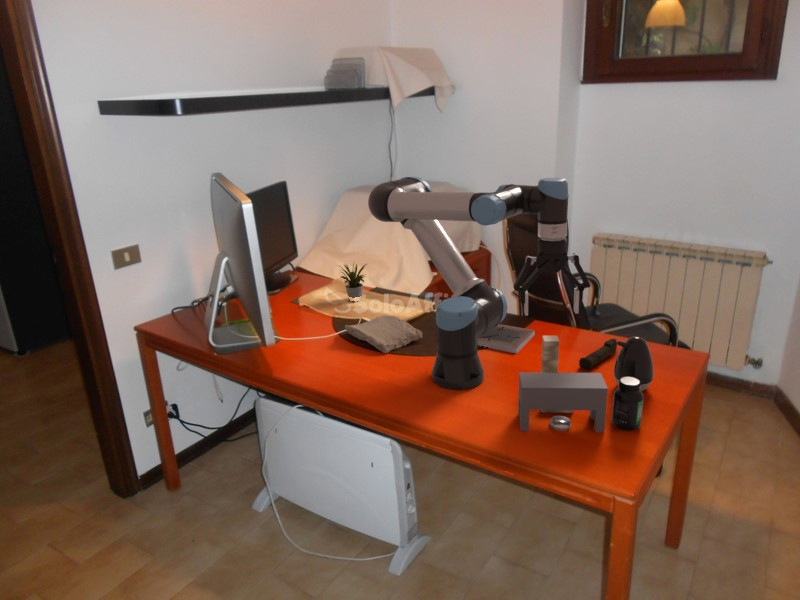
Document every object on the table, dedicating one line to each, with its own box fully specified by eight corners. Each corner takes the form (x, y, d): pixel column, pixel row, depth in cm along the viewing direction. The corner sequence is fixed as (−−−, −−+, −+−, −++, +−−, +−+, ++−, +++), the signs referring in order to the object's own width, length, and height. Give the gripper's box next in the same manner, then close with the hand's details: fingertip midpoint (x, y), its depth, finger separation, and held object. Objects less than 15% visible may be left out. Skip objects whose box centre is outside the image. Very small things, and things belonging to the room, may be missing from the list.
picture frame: (455, 343, 201) (516, 355, 190) (455, 336, 200) (516, 347, 189) (476, 326, 214) (534, 336, 203) (476, 319, 213) (534, 329, 202)
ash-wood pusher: (541, 412, 155) (543, 365, 151) (533, 377, 174) (535, 334, 169) (572, 412, 154) (575, 365, 150) (562, 377, 173) (564, 334, 168)
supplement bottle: (645, 430, 145) (650, 386, 141) (618, 432, 145) (622, 388, 141) (632, 415, 152) (636, 373, 148) (606, 418, 151) (610, 375, 147)
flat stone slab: (377, 360, 192) (426, 338, 202) (373, 339, 189) (423, 318, 199) (339, 340, 211) (386, 321, 221) (335, 321, 208) (382, 302, 218)
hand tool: (590, 372, 175) (591, 358, 174) (578, 368, 178) (579, 354, 176) (624, 353, 187) (625, 339, 185) (612, 349, 190) (613, 335, 188)
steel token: (551, 431, 147) (551, 426, 147) (548, 420, 152) (549, 415, 151) (572, 431, 147) (572, 426, 146) (569, 420, 151) (569, 415, 151)
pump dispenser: (605, 380, 170) (609, 331, 165) (641, 377, 170) (646, 328, 165) (621, 398, 160) (625, 346, 155) (658, 394, 161) (664, 343, 156)
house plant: (330, 306, 239) (326, 266, 233) (339, 294, 251) (336, 257, 246) (365, 306, 236) (362, 266, 231) (372, 294, 249) (370, 257, 244)
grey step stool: (520, 430, 148) (521, 387, 144) (518, 414, 155) (519, 372, 151) (604, 432, 145) (607, 388, 141) (597, 415, 153) (600, 373, 149)
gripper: (506, 243, 155) (506, 319, 162) (604, 238, 154) (600, 315, 160) (503, 236, 162) (503, 310, 169) (596, 232, 161) (593, 306, 168)
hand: (550, 313), depth 165 cm, fingers open, 13 cm apart
